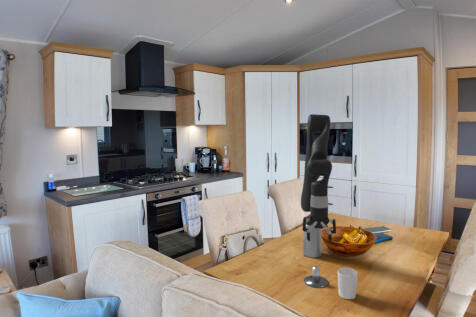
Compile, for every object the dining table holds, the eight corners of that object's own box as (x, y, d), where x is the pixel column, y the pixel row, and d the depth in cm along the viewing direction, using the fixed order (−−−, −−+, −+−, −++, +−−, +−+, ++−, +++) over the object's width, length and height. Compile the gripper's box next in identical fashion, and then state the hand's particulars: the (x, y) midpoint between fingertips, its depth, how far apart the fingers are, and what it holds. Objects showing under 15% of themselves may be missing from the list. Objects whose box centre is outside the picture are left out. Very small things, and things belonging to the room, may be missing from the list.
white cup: (334, 290, 135) (334, 268, 134) (352, 289, 135) (352, 267, 134) (341, 300, 127) (342, 276, 126) (360, 299, 127) (361, 275, 126)
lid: (302, 286, 139) (302, 271, 138) (305, 275, 149) (305, 261, 148) (327, 289, 136) (327, 274, 135) (328, 278, 146) (328, 263, 145)
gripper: (301, 206, 138) (301, 243, 139) (336, 208, 134) (336, 245, 135) (303, 202, 145) (303, 237, 147) (336, 204, 141) (336, 240, 142)
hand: (319, 241), depth 141 cm, fingers open, 8 cm apart
